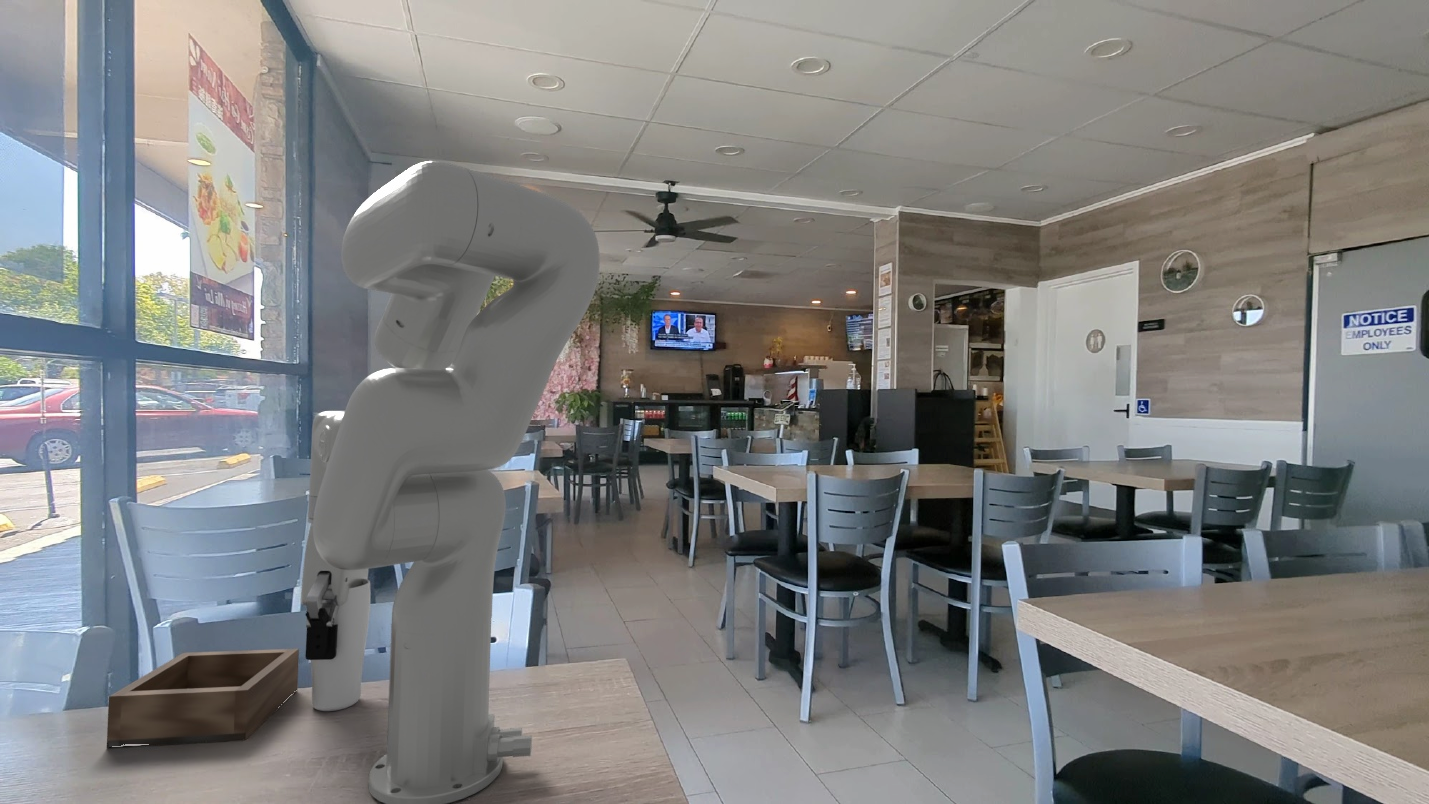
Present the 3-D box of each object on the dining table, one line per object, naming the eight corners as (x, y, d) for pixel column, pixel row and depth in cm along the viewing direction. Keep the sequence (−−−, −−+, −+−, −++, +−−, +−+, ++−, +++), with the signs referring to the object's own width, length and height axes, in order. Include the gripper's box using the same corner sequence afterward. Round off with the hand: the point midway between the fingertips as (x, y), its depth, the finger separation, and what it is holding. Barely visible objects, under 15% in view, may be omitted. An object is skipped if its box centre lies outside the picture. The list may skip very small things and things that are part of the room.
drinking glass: (378, 694, 87) (382, 578, 87) (344, 717, 80) (348, 591, 81) (329, 691, 88) (333, 575, 88) (291, 713, 81) (296, 589, 81)
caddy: (297, 691, 87) (298, 648, 87) (245, 740, 74) (247, 690, 74) (181, 696, 85) (183, 652, 85) (106, 748, 72) (108, 696, 72)
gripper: (336, 498, 92) (330, 622, 92) (278, 520, 75) (271, 672, 75) (394, 499, 94) (388, 621, 94) (350, 521, 77) (343, 670, 77)
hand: (336, 644), depth 84 cm, fingers open, 9 cm apart
